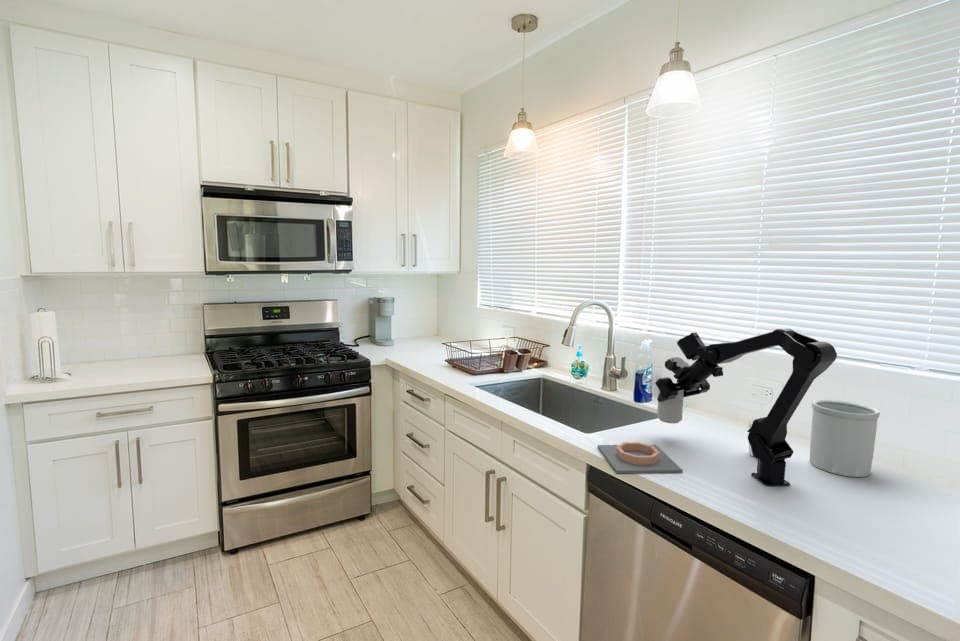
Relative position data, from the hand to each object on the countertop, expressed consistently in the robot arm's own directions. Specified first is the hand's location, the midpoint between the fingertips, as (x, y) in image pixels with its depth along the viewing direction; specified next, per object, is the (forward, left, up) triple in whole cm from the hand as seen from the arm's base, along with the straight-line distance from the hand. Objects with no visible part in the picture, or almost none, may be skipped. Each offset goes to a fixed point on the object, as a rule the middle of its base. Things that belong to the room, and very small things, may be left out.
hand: (666, 399), depth 154 cm
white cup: (-15, -23, -13) cm, 30 cm away
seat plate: (-17, +15, -13) cm, 26 cm away
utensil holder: (-23, -40, -13) cm, 48 cm away
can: (-1, -1, -7) cm, 7 cm away
